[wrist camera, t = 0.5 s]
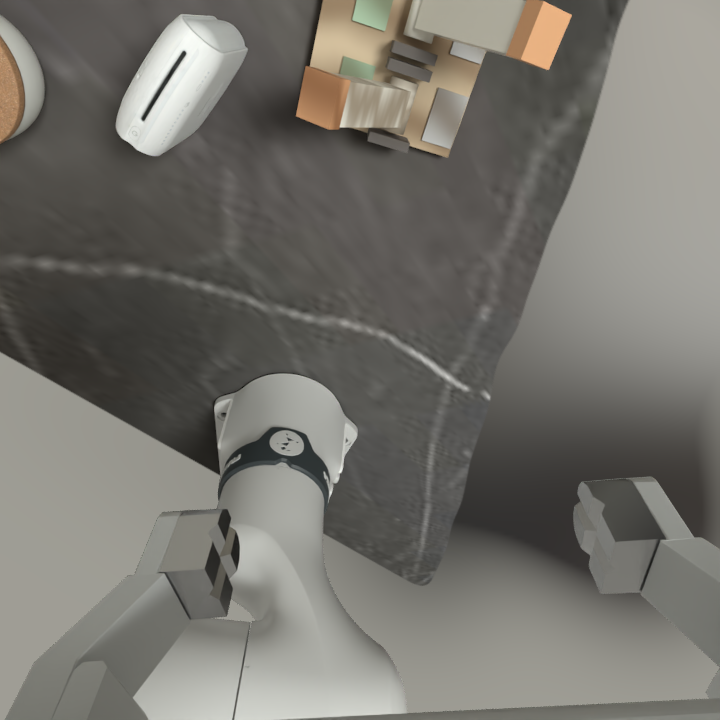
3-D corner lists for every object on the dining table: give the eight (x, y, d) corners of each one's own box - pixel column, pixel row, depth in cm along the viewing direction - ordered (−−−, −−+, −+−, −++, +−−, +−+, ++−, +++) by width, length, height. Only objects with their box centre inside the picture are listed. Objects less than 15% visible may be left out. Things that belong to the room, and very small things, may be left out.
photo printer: (192, 142, 48) (147, 172, 37) (152, 108, 46) (93, 130, 36) (257, 47, 44) (226, 52, 33) (215, 7, 42) (169, -2, 32)
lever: (421, 41, 42) (544, 78, 32) (396, 32, 41) (517, 68, 31) (439, -17, 40) (575, 5, 30) (413, -28, 38) (547, -10, 29)
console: (444, 156, 48) (477, 202, 35) (301, 112, 46) (280, 143, 33) (518, -52, 40) (597, -93, 27) (348, -118, 38) (343, -198, 25)
